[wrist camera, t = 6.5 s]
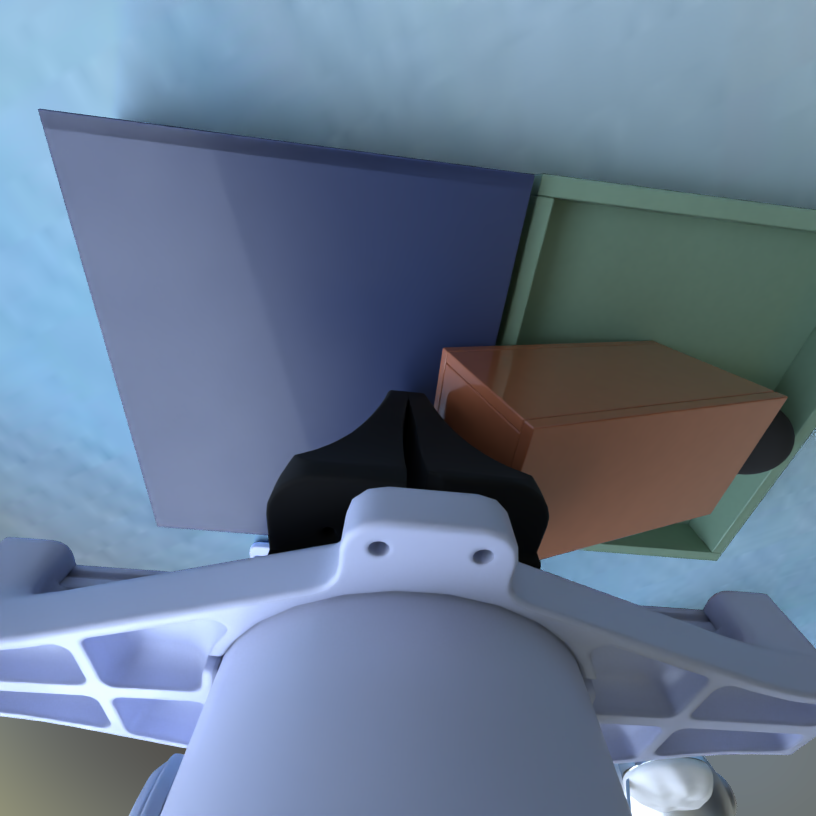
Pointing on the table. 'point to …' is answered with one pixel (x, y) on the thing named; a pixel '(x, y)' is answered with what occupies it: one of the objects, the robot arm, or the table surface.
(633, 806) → the ghost figurine
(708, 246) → the tray
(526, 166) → the table surface
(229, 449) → the book
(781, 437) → the ball
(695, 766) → the milkshake
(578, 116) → the table surface
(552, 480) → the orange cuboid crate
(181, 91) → the table surface
